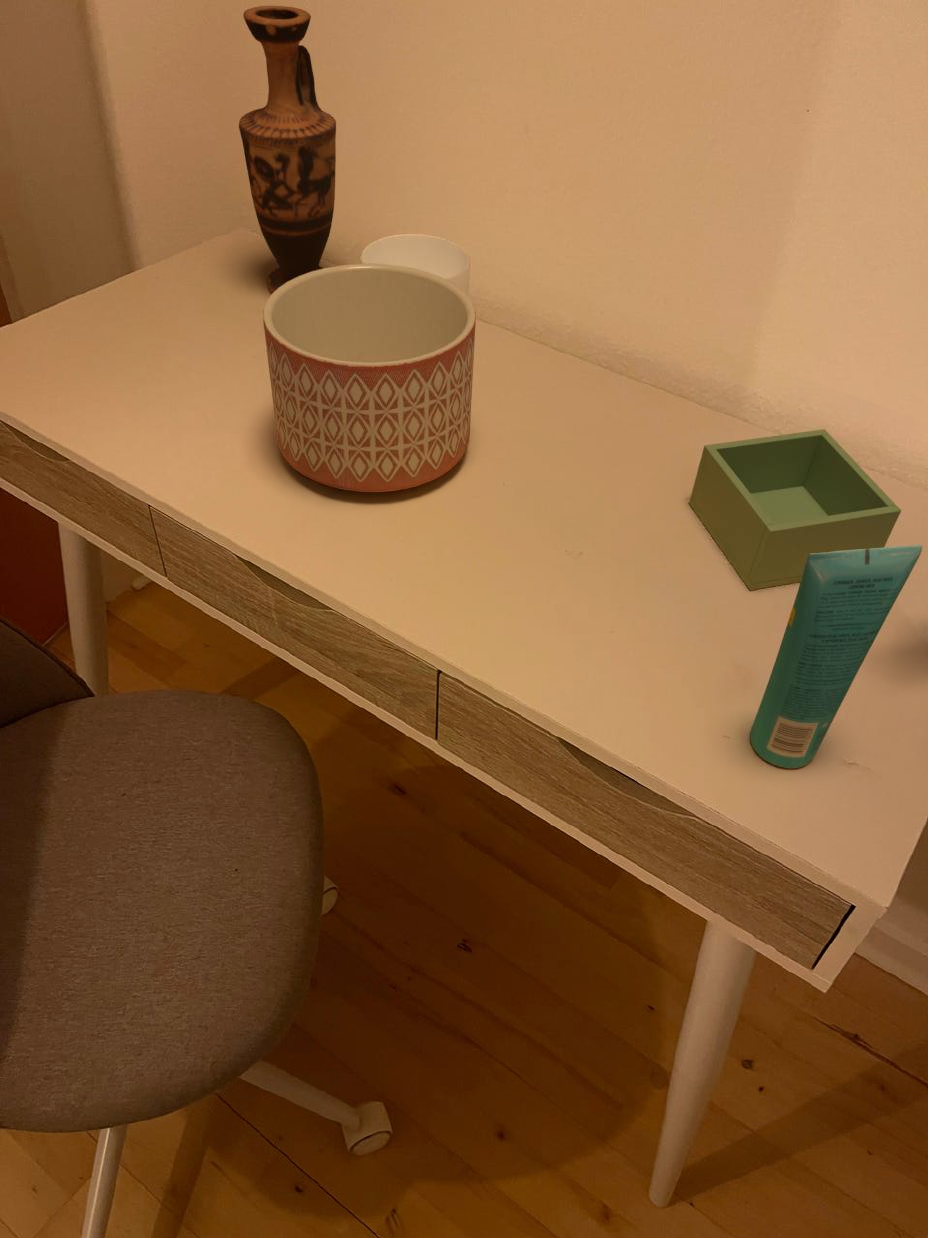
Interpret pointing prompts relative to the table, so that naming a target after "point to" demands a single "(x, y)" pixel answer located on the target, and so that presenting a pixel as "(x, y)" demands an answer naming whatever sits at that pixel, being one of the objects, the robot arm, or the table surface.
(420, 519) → the table surface
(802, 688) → the tube
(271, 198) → the vase
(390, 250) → the cup
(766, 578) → the basket
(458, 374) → the planter
